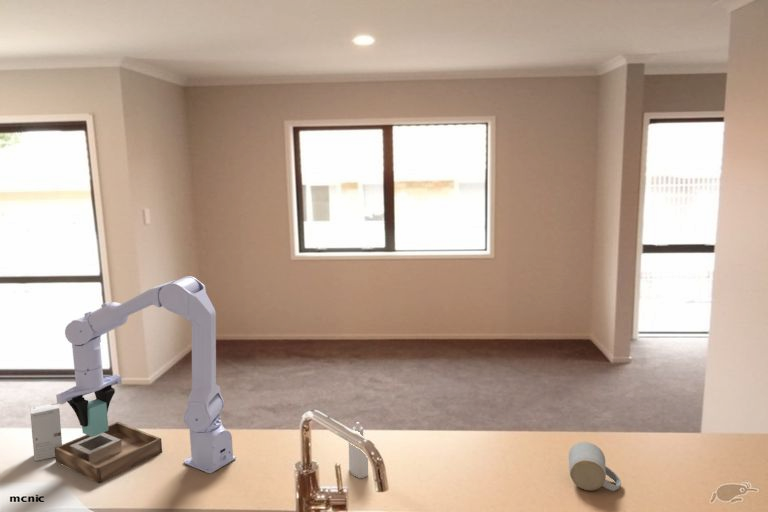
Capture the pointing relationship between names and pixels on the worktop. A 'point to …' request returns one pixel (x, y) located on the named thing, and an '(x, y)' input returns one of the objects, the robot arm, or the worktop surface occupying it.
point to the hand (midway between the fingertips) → (93, 421)
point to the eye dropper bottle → (358, 458)
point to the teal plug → (96, 418)
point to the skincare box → (45, 430)
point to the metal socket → (96, 448)
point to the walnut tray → (133, 452)
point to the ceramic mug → (590, 468)
